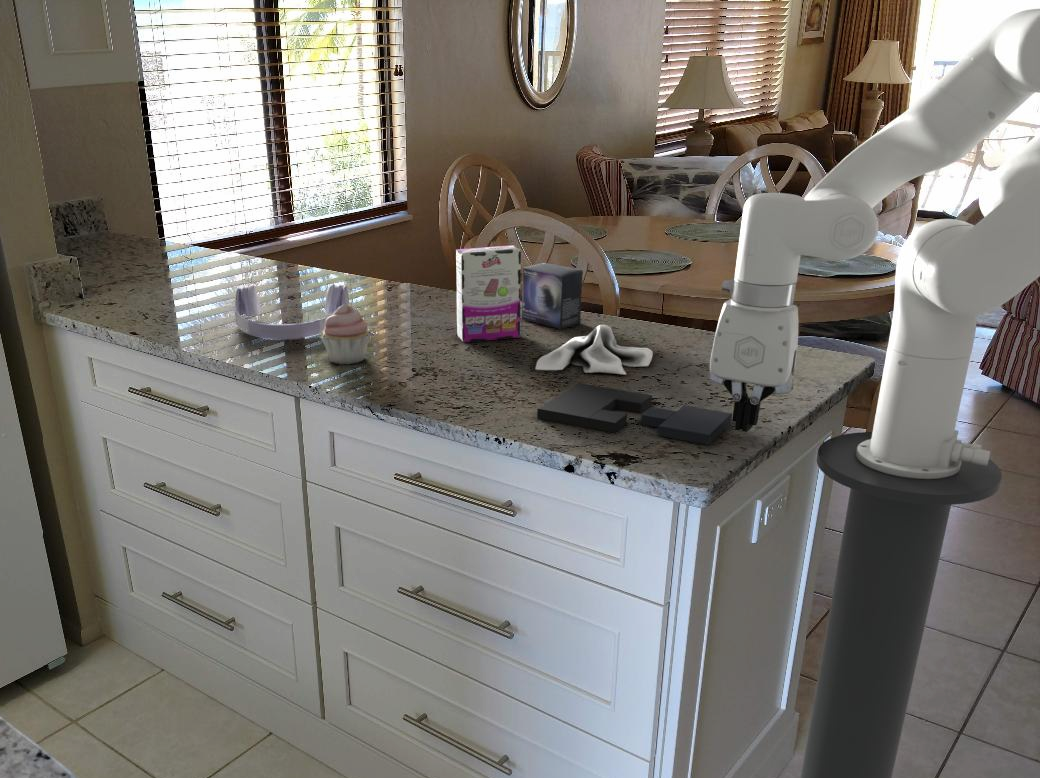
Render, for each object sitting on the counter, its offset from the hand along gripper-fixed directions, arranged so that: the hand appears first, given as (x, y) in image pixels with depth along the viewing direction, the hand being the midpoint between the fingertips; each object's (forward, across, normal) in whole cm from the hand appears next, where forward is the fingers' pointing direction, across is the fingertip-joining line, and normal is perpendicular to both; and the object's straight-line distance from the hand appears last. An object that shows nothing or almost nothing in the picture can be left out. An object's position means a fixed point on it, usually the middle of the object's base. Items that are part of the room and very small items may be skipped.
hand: (743, 428), depth 134 cm
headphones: (+3, -94, +17) cm, 95 cm away
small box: (+2, -50, +44) cm, 67 cm away
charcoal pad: (+2, -8, 0) cm, 9 cm away
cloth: (+2, -32, +24) cm, 41 cm away
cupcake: (+3, -70, +4) cm, 70 cm away
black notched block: (+2, -22, 0) cm, 22 cm away
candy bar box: (+3, -56, +28) cm, 62 cm away
